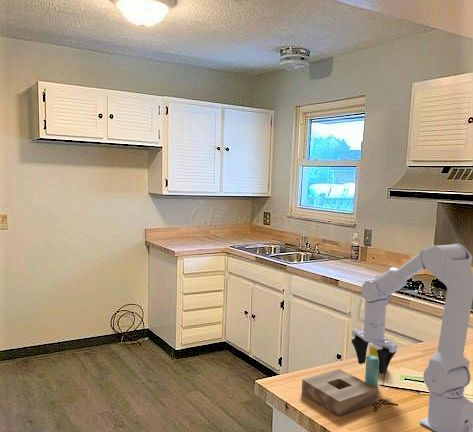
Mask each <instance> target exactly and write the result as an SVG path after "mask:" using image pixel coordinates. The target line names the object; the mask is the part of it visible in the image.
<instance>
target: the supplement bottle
mask: <svg viewBox="0 0 473 432" xmlns="http://www.w3.org/2000/svg"><path fill="white" fill-rule="evenodd" d="M385 338H386V336H385ZM386 339H387V338H386ZM368 346H369V350H368V356H376V357H378V354H377V350H380V349H382V347H379V346H377V345H375V344H372V343H369V345H368Z"/></svg>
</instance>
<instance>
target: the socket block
mask: <svg viewBox="0 0 473 432" xmlns="http://www.w3.org/2000/svg"><path fill="white" fill-rule="evenodd" d="M378 390H379V389H378V387H374V386H372V385H370V384H368V383H366V382H365V380H362V379H360V378H358V377H356V376H355V375H352V374H351V373H348V372H346V371H344V370H342V369H341V368H337V369H333V370H330V371H327V372H324V373H320V374H317V375H313V376H309V377H307V378H303V379H302V380H301V394H302V395H303V396H305V397H306V398H307V399H309V400H311V401H313V402H314V401H315V402H314V403H316V402H317V403H318V405H319V404H320V406H321V407H322V408H324V409H325V408H326V409H325V410H327V411H328V412H330V411H331V412H330V413H332V414H333V413H334V414H333V415H334V416H336V415H337V416H336V417H338V416H340V417H342V415H343V416H345V415H348V414H351V413H353V412H356V411H359V410H362V409H365V408H367V407H370V406H372V405H375V404H378V392H379V391H378ZM317 403H316V404H317Z"/></svg>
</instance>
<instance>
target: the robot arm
mask: <svg viewBox="0 0 473 432" xmlns="http://www.w3.org/2000/svg"><path fill="white" fill-rule="evenodd" d="M472 262H473V256H472V254H471V253H470V252H469V251H468V249H467V248H466V247H465V246H464V245H463V244H460V243H452V244H444V245H434V244H432V245H429V246H427V247H425V248H423V249H421V250H419V252H418V254H416V255H414V257H412V258H410V259H409V260H408V261H407V262H406V263H404V264H403V265H402V266H400V267H396V266H395V267H392V266H391V267H389V266H388V267H387V268H385V272H383V273H382V274H380V275H376V276H375V277H374V280H365V281H364V283H363V284H362V285H361V291H360V292H361V295H362V296H361V297H363V300H365V301H364V318H363V319H364V320H363V329H362V330H361V329H358V328H355V329H352V331H351V336H352V337H354V338H352V339H351V344H352V346H353V348H354V349H355V353H356V354H355V355H356V356H357V357H356V358H357V363H358V364H360V365H362V364H366V357H367V349H368V346H369V344H370V343H372V344H375V345H377V346H379V347H382V349H380V350H377V354H378V358H379V369H378V375H383V374H387V370H388V367H389V364H390V362H391V360H392V358H394V356H395V354H396V353H397V349H398V344H396V343H394V342H392V341H391V340H389V339H387V338H385V337H386V335H385V332H386V331H385V329H386V315H387V314H386V313H387V312H386V311H387V306H388V304H389V299H391V297H392V294H394V293H396V292H398V291H399V290H401V289H402V288H404V287H405V286H406V285H407V283H408V279H410V278H411V277H414V276H416V275H418V274H419V273H421V272H423V271H425V270H426V271H428V272H430V274H432V276H434V277H435V278H436V279H438V281H440V282H441V283H442V284H444V285H445V287H446V294H445V295H446V296H445V300H444V308H443V312H442V313H443V315H442V320H441V327H440V333H439V340H438V346H437V350H436V352H435V353H433V355H432V356H431V358H430V359H428V360H429V361H428V364H427V365H428V366H427V367H426V368H425V369H424V372H423V381H424V383H425V386H426V387H427V391H429V393H428V408H427V409H428V411H427V417H425V418H423V419H420V420H419V424H421V425H423V426H424V427H426V428H429V429H430V430H432V431H434V432H473V401H471V400H470V399H468V398H467V397H465V395H464V392H465V387H467V386H468V385H469V384H470V382H471V379H472V378H471V377H472V376H471V371H470V361H469V359H468V358H467V357H466V356H465V355H464V352H465V345H466V340H467V334H468V329H469V321H470V316H471V311H472V306H473V270H472Z"/></svg>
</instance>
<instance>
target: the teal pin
mask: <svg viewBox="0 0 473 432" xmlns="http://www.w3.org/2000/svg"><path fill="white" fill-rule="evenodd" d="M364 376H365V377H364V382H366V383H368V384H370V385H372V386H374V387H376V388H378V385H379V384H378V382H379V358H378V357H376V356H369V355H366V360H365V375H364Z"/></svg>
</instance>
